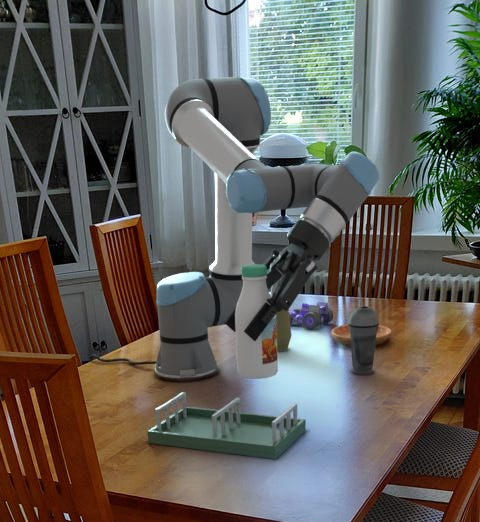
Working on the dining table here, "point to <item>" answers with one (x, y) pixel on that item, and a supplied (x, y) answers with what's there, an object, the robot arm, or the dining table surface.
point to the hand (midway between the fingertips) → (239, 331)
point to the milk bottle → (250, 302)
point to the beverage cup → (363, 337)
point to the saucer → (344, 338)
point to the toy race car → (311, 315)
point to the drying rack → (226, 429)
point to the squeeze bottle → (282, 326)
